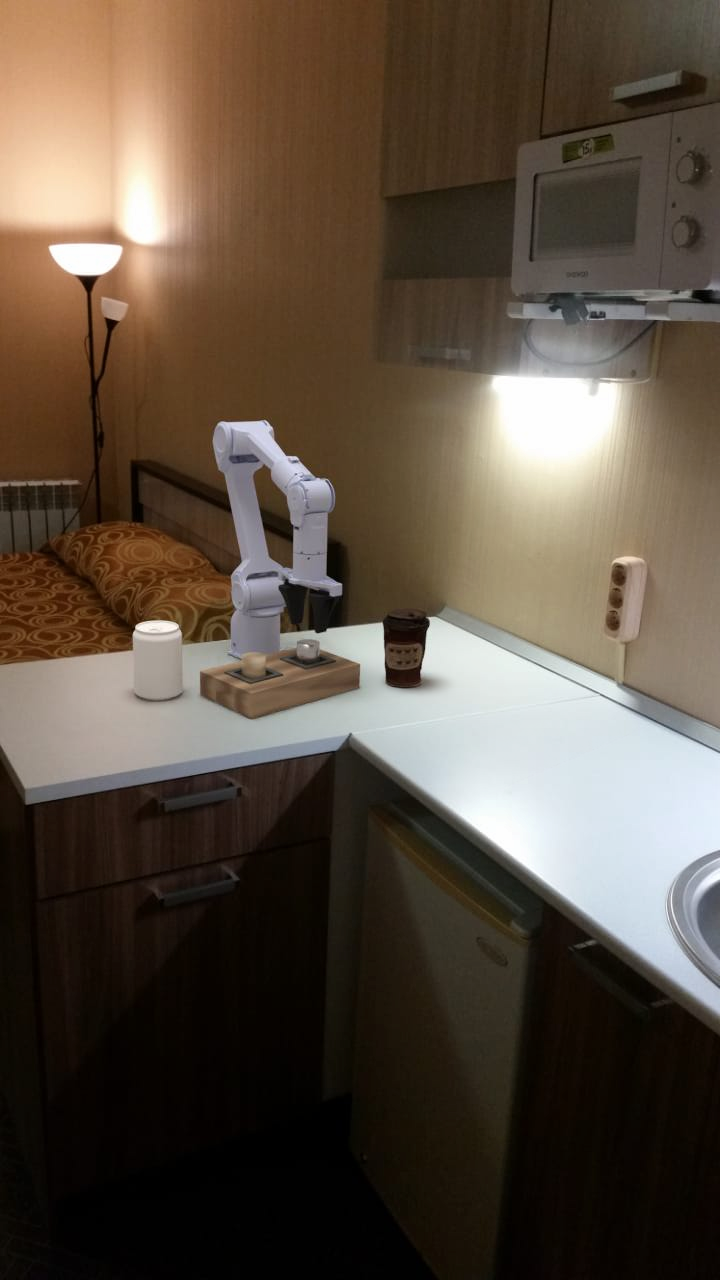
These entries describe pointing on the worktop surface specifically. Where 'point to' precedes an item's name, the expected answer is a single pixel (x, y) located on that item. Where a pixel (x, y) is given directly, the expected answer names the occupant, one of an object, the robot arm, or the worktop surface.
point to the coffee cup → (404, 646)
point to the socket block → (279, 683)
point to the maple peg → (253, 665)
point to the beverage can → (157, 660)
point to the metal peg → (308, 651)
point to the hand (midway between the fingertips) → (308, 627)
